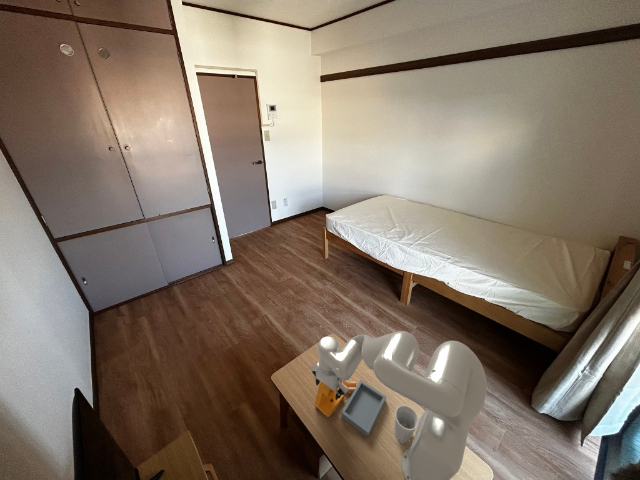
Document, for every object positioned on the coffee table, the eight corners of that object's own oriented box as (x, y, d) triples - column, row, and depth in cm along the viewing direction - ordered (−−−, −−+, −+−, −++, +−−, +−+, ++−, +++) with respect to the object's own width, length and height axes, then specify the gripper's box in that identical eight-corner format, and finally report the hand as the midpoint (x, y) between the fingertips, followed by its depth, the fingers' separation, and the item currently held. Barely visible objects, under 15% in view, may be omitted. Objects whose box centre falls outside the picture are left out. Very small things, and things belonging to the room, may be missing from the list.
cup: (388, 435, 94) (391, 419, 88) (396, 416, 100) (400, 400, 94) (409, 451, 90) (414, 435, 84) (416, 430, 95) (421, 414, 89)
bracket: (328, 418, 100) (327, 403, 94) (315, 406, 104) (313, 390, 98) (344, 397, 107) (344, 381, 101) (331, 386, 111) (331, 370, 105)
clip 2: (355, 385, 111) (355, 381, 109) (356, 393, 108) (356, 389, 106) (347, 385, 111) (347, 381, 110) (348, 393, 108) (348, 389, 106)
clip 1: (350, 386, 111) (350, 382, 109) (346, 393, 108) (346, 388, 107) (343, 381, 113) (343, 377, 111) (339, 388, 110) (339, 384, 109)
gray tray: (385, 401, 105) (386, 396, 103) (368, 437, 94) (368, 433, 92) (360, 384, 111) (360, 380, 109) (341, 416, 100) (341, 412, 98)
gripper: (353, 369, 91) (351, 394, 99) (316, 345, 100) (317, 370, 108) (342, 386, 86) (341, 411, 94) (304, 359, 94) (306, 384, 103)
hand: (328, 389), depth 101 cm, fingers open, 9 cm apart
